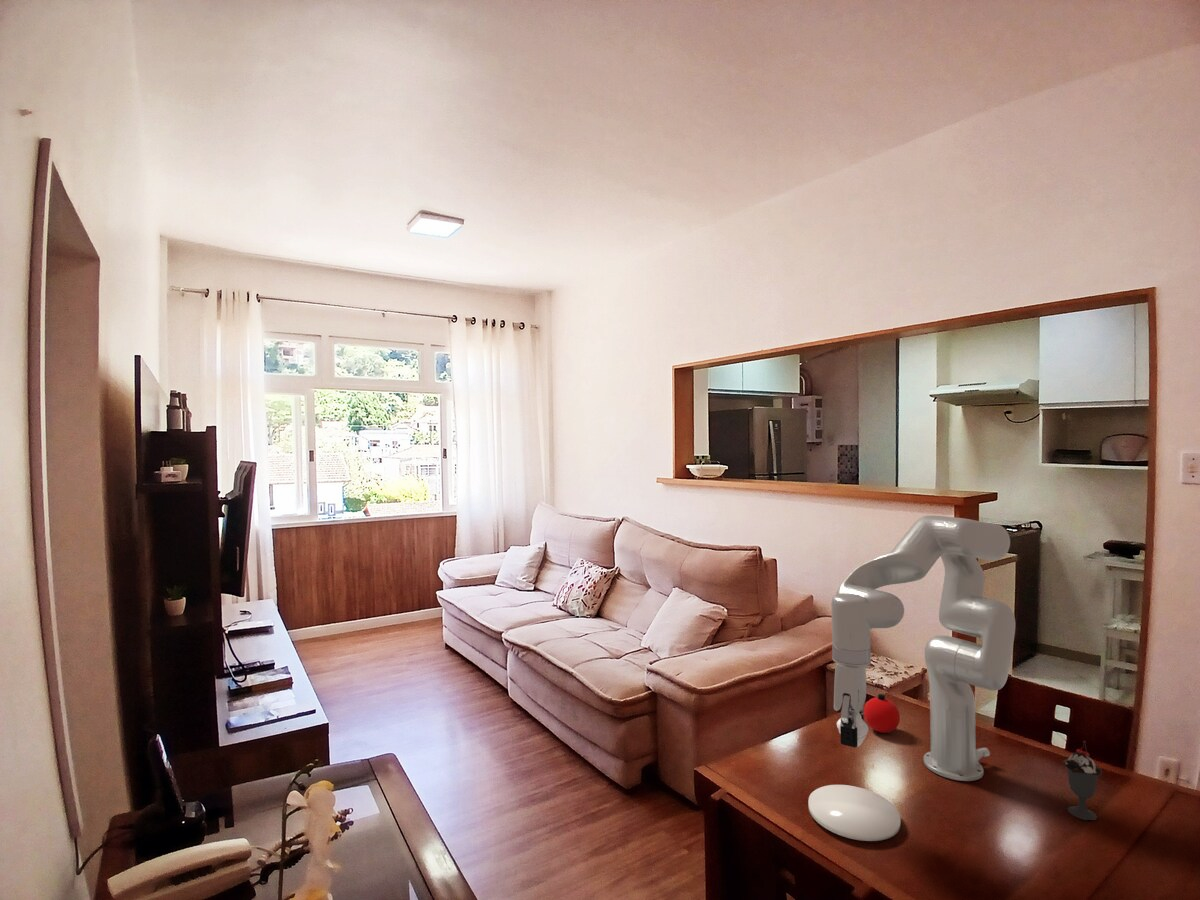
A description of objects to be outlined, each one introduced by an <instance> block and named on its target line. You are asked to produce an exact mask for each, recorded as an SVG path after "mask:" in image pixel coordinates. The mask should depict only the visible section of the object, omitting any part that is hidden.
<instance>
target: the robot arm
mask: <svg viewBox="0 0 1200 900" xmlns="http://www.w3.org/2000/svg"><path fill="white" fill-rule="evenodd" d="M1010 548H1011V537H1010V535H1009V533H1008V531H1007V530H1006V528H1005V527H1003V525H1001V524H1000V523H999V524H997V523H993V522H988V521H987V522H984V521H980V520H975V519H969V518H963V517H955V516H945V515H943V516H942V515H924V516H922V517H920V518H918V519H917V520H916V521H915V522H914V523H913V524H912V526H911V527H910V528H909V529H908V531H907V532H906V533H905V534H904V535H903V537H902V538H901V539H900V541H898V542H897V544H896V545H895V546H894V548H892V550H891V551H890V552H888V553H885V554H883V555H879V556H878V557H875V558H874V559H871V560H868V561H867V562H864V563H863V564H861V565H859V566H858V567H856V568H854V570H852V571H851V572H850V573H849V574H848V576H847V577H846V578H845V579H844V580H843V581H842V583H841V585H839V587H838V589H837V591H836V592H835V593H836V594H835V595H834V596H833V597H832V599H831V648H832V649H831V653H832V655H831V658H832V659H831V660H832V661H833V662H834V663H835V669H834V682H833V683H834V686H833V709H834V711H837V712H838V711H840V710H841V711H840V719H841V725H840V733H841V735H840V744H841V745H843V746H846V747H851V748H857V727H856V715H857V714H858V713H859V714H860V715H861V718H862V719H863V721H864V720H865V717H864V705H865V701H866V700H867V699H866V697H867V673H866V672H867V670H866V669H867V667H868V666H870V665H871V661H872V659H871V658H872V657H871V630H872V629H890V628H893V627H895V626H897V625H898V624H900V622H901V621H902V620H903V618H904V616H905V606H904V603H903V602H902V600H901V599H900V598H899V597H898V596H897V595H895V594H893V593H891V592H886V591H882V590H879V589H880V588H882V587H885V586H890V585H892V586H893V585H899V584H907V583H912V582H917V581H919V580H922V579H923V578H925V577H926V576H927V574H928V573H929V571H930V570H931V569H932V568H933V566H934V565H935V564H936V562H937V561H938V560H939V558H941V560H942V564H943V566H944V568H943V569H944V578H943V584H942V592H941V597H940V601H939V608H938V609H939V610H938V621H939V623H940V624H941V626H942V627H944V628H945V629H947V630H950V631H952V632H955V633H959V634H962V635H966V636H970V637H974V638H978V639H981V640H982V644H980V643H976V642H972V641H969V640H966V639H961V638H958V637H954V636H949V635H941V634H940V635H936V636H933V637H931V638H930V639H928V640H927V642H926V644H925V646H924V652H923V653H924V660H925V664H926V665H925V666H926V669H927V675H928V683H929V684H928V685H929V716H930V717H929V719H930V721H929V726H930V727H929V730H930V732H929V733H930V734H929V735H930V737H929V738H930V751H927V752H926V753H925V754H924V755H923V763H924V765H925V766H926V768H927V769H929V770H930V771H932V772H933V773H934V774H935V775H939V776H941V777H943V778H947V779H948V780H955V781H960V782H973V781H977V780H980V779H982V778H983V776H984V767H983V766H982V764H981V763H980V762H979V760H981V759H982V758H985V757H990V755H991V751H990V750H989V748H987V747H980V748H976V699H975V696H974V692H973V690H972V687H971V686H974V687H977V688H981V689H984V690H988V691H994V692H995V691H999V690H1001V689H1002V688H1003V687H1004V686H1005V685H1006V683H1007V680H1008V677H1009V674H1010V667H1011V661H1012V660H1011V659H1012V654H1013V648H1014V647H1013V646H1014V641H1015V635H1016V617H1015V613H1014V610H1013V609H1012V608H1011V607H1010V606H1009V605H1008V604H1006V603H1005V602H1003V601H1000V600H998V599H991V598H986V597H984V590H985V589H984V588H985V583H986V582H985V579H986V577H985V573H984V570H983V568H982V566H981V565H980V563H979V561H978V559H981V560H990V561H997V560H1000V559H1002V558H1004V557H1005V556H1006V554H1007V553H1008V552H1009V551H1010V550H1009V549H1010ZM877 589H878V590H877ZM849 710H854V712H850V711H849ZM849 715H852V720H851V718H849ZM864 722H865V721H864ZM840 733H839V734H840Z"/></svg>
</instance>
